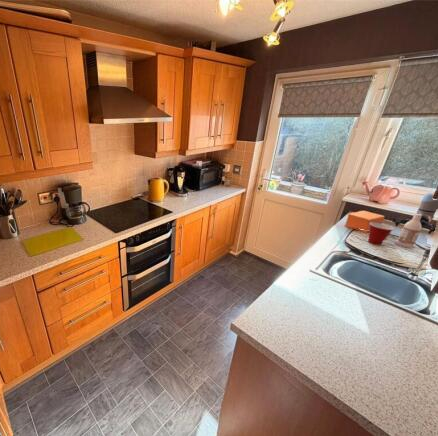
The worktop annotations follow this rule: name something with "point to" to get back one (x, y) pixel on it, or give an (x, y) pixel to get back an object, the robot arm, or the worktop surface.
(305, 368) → the worktop surface
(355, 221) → the box
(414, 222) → the bath foam
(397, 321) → the worktop surface
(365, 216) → the lid
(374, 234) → the plastic cup
